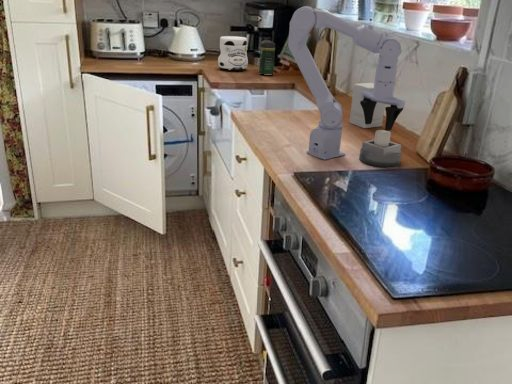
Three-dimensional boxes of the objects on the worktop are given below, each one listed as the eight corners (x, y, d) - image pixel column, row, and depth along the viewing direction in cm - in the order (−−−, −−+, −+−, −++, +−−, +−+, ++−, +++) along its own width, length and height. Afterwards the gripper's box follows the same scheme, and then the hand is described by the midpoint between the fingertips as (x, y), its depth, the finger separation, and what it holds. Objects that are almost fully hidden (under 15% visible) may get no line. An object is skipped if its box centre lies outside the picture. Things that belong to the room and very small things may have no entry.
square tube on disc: (382, 170, 141) (385, 152, 138) (351, 158, 149) (353, 141, 147) (408, 163, 148) (411, 145, 145) (376, 152, 156) (378, 135, 154)
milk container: (237, 73, 275) (238, 40, 268) (211, 69, 283) (212, 37, 276) (253, 69, 289) (254, 38, 282) (228, 66, 297) (229, 35, 290)
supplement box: (382, 126, 185) (388, 86, 179) (364, 128, 181) (369, 88, 175) (366, 120, 192) (371, 82, 186) (348, 122, 188) (353, 83, 182)
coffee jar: (274, 76, 272) (276, 41, 264) (260, 76, 271) (262, 41, 263) (271, 73, 281) (273, 39, 273) (257, 73, 279) (259, 39, 272)
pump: (382, 154, 144) (385, 135, 142) (370, 151, 147) (372, 131, 145) (393, 151, 148) (396, 131, 146) (380, 147, 151) (383, 128, 148)
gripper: (414, 84, 138) (406, 131, 144) (374, 75, 149) (368, 119, 154) (398, 86, 134) (391, 134, 140) (358, 77, 145) (352, 122, 150)
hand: (378, 127), depth 147 cm, fingers open, 7 cm apart
